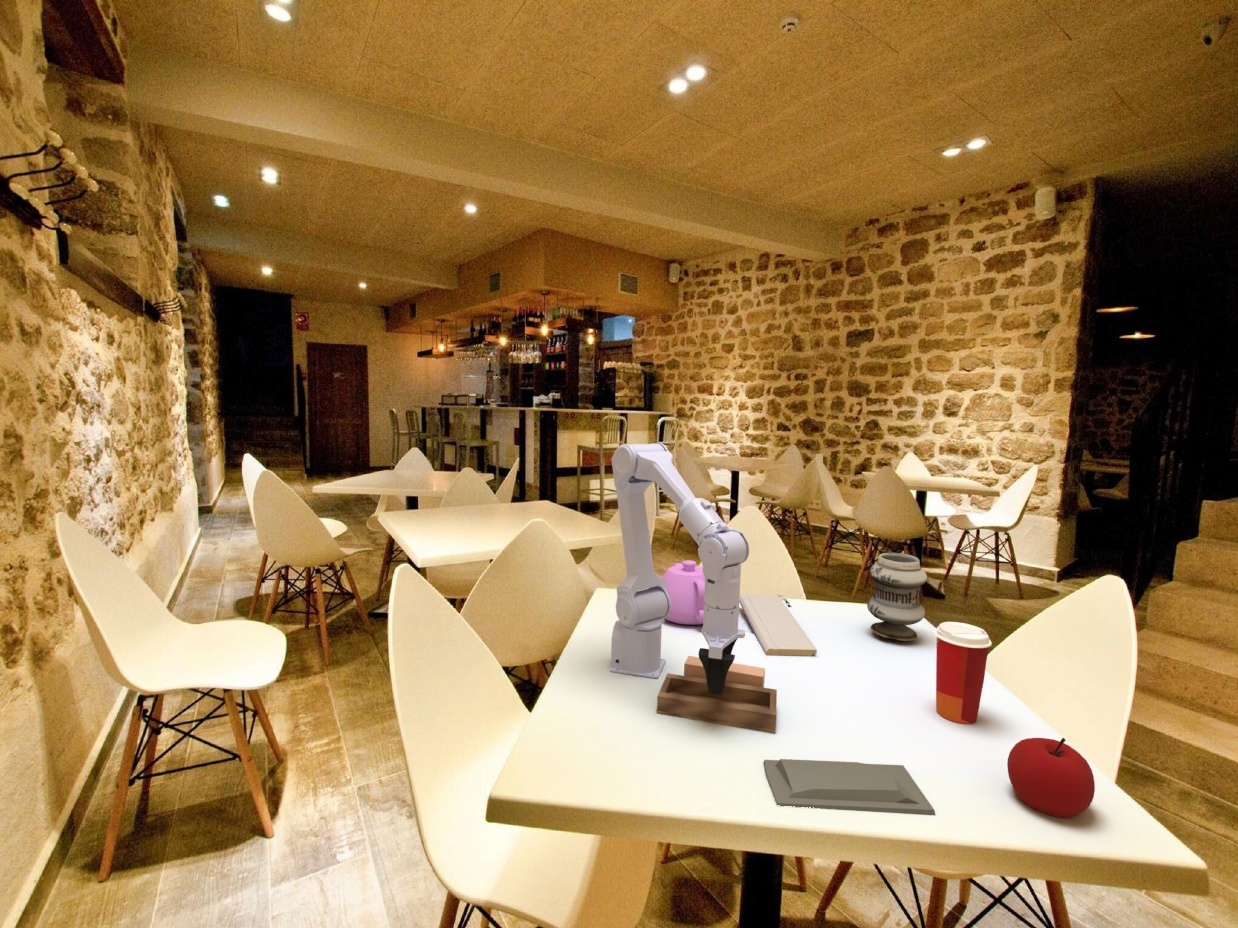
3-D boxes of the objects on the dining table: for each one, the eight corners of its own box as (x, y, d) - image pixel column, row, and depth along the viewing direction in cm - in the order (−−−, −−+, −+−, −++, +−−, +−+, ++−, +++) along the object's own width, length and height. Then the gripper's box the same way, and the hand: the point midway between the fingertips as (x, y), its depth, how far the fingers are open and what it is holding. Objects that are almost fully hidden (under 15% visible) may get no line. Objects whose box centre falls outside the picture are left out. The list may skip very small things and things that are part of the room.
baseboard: (824, 649, 119) (766, 648, 119) (823, 662, 119) (765, 661, 119) (783, 594, 149) (737, 593, 150) (782, 605, 150) (737, 603, 150)
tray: (656, 716, 95) (657, 696, 94) (667, 691, 103) (667, 672, 103) (775, 736, 89) (776, 715, 89) (775, 708, 98) (776, 688, 98)
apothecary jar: (866, 637, 130) (871, 559, 128) (865, 619, 141) (870, 548, 139) (925, 646, 125) (932, 566, 123) (920, 627, 136) (925, 553, 134)
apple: (1046, 781, 80) (1053, 713, 79) (1111, 828, 71) (1120, 752, 70) (988, 787, 78) (994, 718, 78) (1047, 835, 70) (1055, 758, 69)
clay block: (683, 689, 104) (684, 663, 104) (687, 680, 108) (688, 655, 107) (761, 704, 100) (763, 676, 99) (763, 694, 103) (765, 668, 103)
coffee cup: (977, 707, 100) (984, 624, 98) (990, 732, 92) (999, 642, 90) (923, 698, 102) (930, 617, 101) (932, 721, 95) (939, 634, 93)
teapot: (757, 629, 133) (759, 571, 132) (668, 636, 128) (670, 576, 127) (719, 598, 154) (721, 548, 153) (642, 603, 149) (643, 551, 148)
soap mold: (938, 828, 71) (940, 802, 71) (776, 821, 72) (777, 795, 72) (901, 776, 81) (903, 752, 81) (760, 770, 82) (761, 747, 82)
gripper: (743, 622, 86) (739, 707, 88) (748, 592, 100) (745, 666, 102) (696, 616, 88) (693, 699, 90) (708, 588, 102) (705, 660, 104)
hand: (718, 681), depth 96 cm, fingers open, 7 cm apart
